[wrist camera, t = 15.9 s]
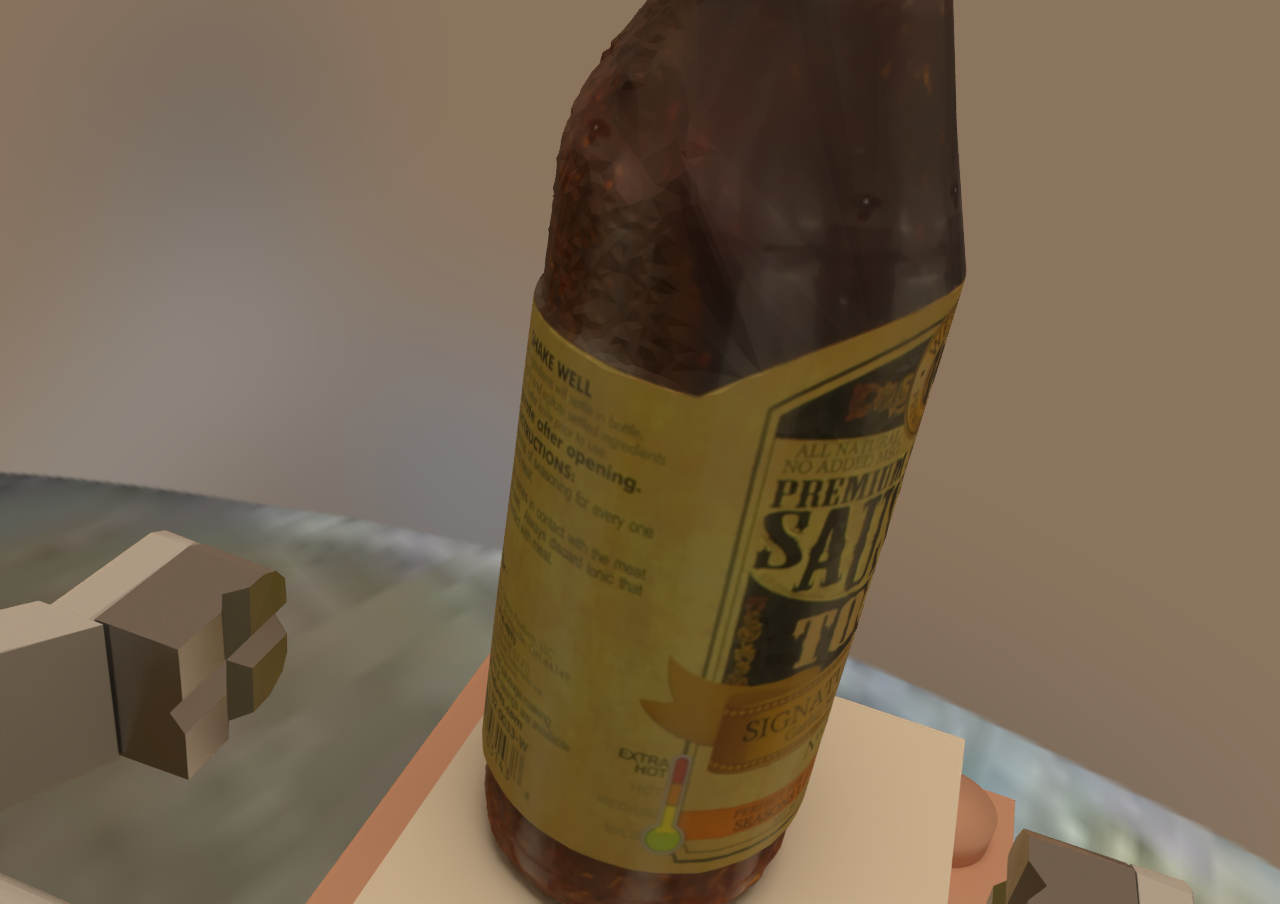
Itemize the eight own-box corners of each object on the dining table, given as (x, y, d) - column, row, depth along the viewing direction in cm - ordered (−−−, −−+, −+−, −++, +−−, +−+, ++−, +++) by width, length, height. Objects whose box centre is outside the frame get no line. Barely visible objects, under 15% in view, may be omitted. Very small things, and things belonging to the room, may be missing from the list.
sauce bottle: (717, 1011, 18) (1180, -539, 8) (408, 847, 20) (490, -575, 10) (829, 764, 24) (1194, -367, 14) (576, 652, 26) (735, -410, 16)
